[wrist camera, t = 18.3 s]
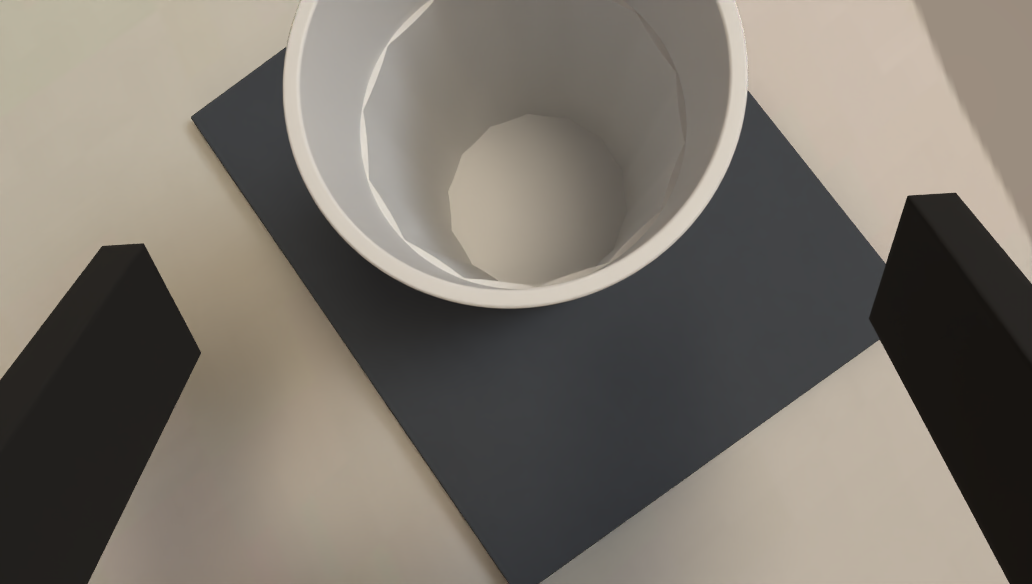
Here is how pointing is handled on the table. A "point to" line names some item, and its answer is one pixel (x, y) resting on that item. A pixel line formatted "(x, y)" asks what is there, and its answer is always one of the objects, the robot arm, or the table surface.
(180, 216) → the table surface
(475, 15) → the cup
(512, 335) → the mat
